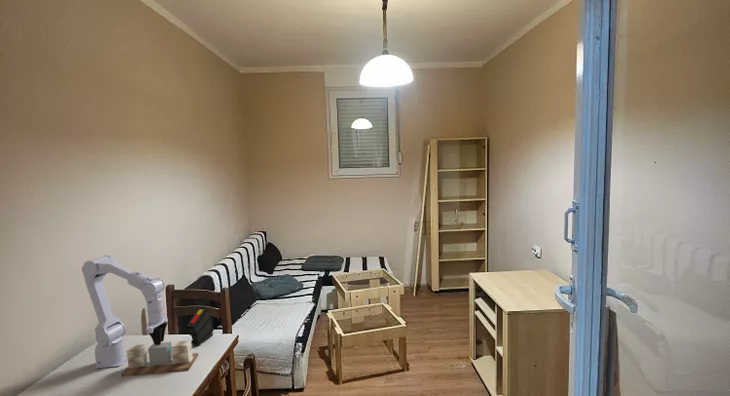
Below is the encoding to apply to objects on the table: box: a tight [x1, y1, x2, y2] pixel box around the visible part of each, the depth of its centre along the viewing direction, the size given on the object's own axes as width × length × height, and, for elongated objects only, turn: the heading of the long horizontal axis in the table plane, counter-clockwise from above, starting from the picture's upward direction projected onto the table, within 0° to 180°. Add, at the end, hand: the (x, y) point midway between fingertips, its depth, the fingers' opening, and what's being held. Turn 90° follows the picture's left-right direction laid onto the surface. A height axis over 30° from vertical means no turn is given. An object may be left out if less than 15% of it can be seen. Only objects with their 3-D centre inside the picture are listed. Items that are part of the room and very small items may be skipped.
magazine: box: [186, 306, 215, 347], centre depth 183 cm, size 4×13×15 cm, turn 166°
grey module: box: [148, 341, 173, 366], centre depth 163 cm, size 7×4×7 cm, turn 96°
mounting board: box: [120, 339, 199, 377], centre depth 163 cm, size 25×12×8 cm, turn 95°
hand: (159, 342), depth 163 cm, fingers closed
